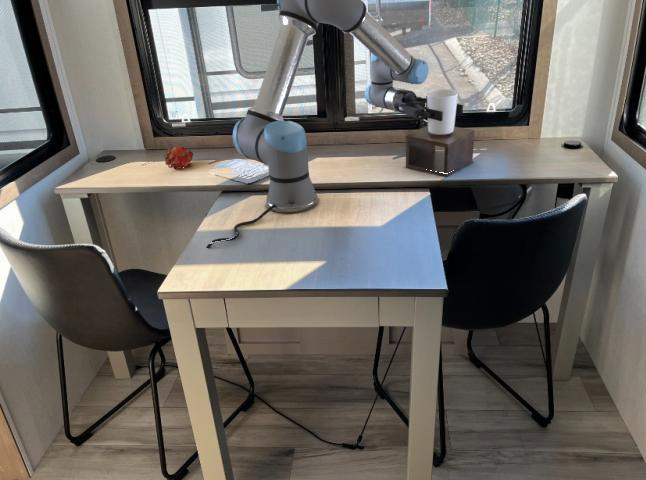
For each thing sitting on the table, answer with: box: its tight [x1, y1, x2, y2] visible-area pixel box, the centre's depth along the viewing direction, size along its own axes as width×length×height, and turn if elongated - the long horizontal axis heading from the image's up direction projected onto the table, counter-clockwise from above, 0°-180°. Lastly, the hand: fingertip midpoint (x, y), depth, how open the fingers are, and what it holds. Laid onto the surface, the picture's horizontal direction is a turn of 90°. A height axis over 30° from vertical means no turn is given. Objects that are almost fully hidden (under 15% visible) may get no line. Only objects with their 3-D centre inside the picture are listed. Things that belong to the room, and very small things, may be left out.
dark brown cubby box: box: [405, 125, 476, 178], centre depth 195 cm, size 16×16×11 cm
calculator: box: [209, 158, 270, 181], centre depth 202 cm, size 13×20×2 cm, turn 51°
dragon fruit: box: [164, 144, 194, 170], centre depth 209 cm, size 8×8×12 cm
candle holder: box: [426, 88, 459, 135], centre depth 189 cm, size 10×10×12 cm
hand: (452, 113), depth 185 cm, fingers closed on candle holder, 9 cm apart
